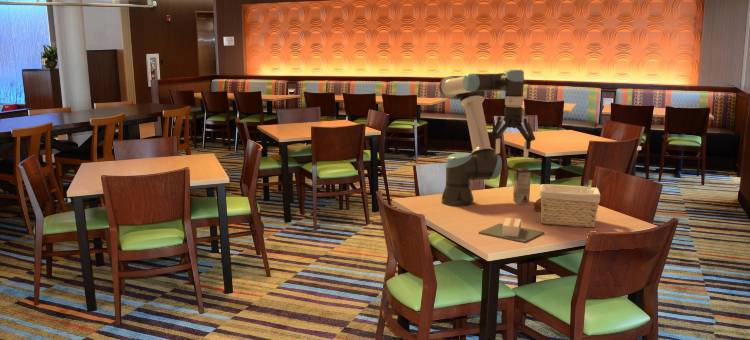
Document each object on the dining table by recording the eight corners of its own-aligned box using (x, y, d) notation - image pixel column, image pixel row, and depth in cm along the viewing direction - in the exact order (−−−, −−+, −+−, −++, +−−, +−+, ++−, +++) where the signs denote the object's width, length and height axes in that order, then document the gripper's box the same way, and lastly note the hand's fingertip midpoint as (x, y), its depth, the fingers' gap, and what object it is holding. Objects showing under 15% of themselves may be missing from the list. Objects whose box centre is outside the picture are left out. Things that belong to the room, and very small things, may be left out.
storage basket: (595, 219, 282) (597, 186, 279) (598, 229, 266) (601, 194, 264) (538, 216, 287) (540, 183, 285) (538, 225, 272) (540, 190, 269)
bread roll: (539, 220, 294) (544, 206, 289) (527, 206, 301) (532, 192, 297) (557, 218, 297) (563, 204, 293) (545, 204, 305) (550, 191, 300)
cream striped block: (505, 227, 266) (506, 217, 265) (520, 228, 264) (521, 218, 264) (502, 235, 255) (502, 225, 254) (518, 236, 253) (518, 226, 252)
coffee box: (512, 200, 317) (513, 167, 314) (525, 200, 317) (527, 167, 314) (516, 204, 308) (517, 171, 305) (529, 204, 308) (531, 171, 305)
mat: (478, 233, 260) (478, 231, 260) (499, 224, 273) (499, 223, 272) (524, 242, 247) (524, 241, 247) (544, 233, 260) (544, 231, 260)
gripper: (483, 105, 285) (482, 153, 289) (536, 108, 270) (534, 159, 273) (492, 103, 291) (490, 151, 295) (544, 107, 275) (542, 157, 279)
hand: (511, 155), depth 284 cm, fingers open, 13 cm apart
